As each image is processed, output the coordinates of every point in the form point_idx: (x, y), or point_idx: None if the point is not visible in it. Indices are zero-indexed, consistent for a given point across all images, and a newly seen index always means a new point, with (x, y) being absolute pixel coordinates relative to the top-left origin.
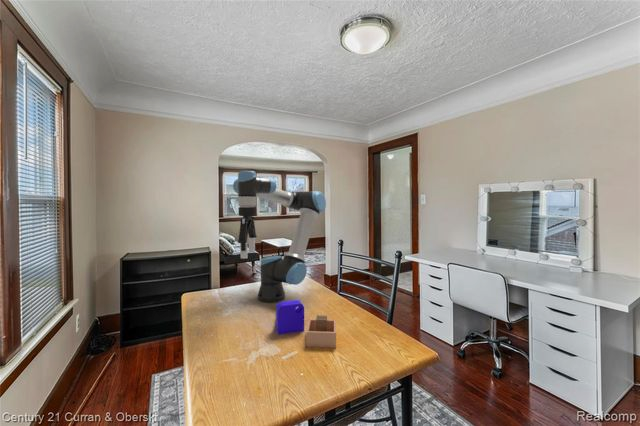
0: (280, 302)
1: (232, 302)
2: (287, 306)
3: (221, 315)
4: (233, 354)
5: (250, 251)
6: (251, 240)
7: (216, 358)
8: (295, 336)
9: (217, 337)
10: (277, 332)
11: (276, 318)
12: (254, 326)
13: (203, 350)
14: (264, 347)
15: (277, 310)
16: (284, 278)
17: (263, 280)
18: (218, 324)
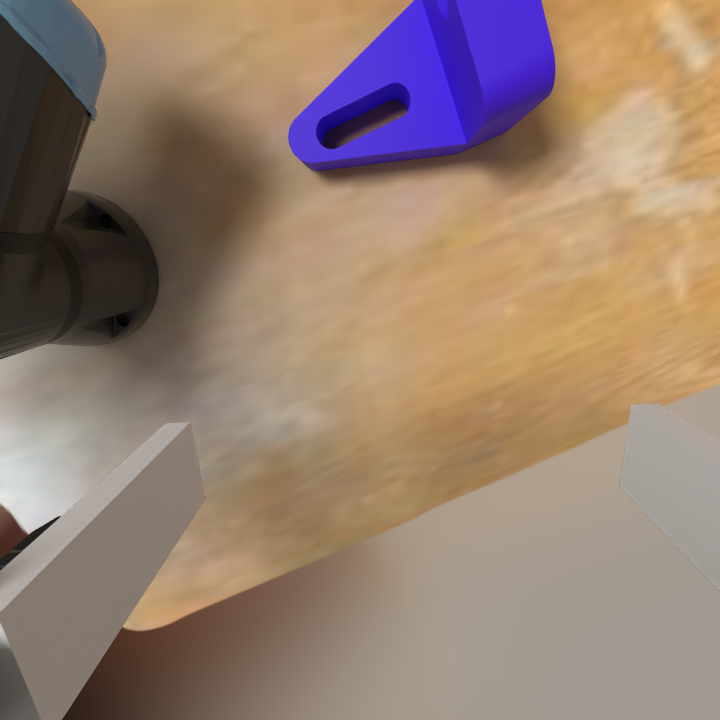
0: (489, 85)
1: None
2: (541, 21)
3: (327, 434)
4: (646, 278)
5: (197, 482)
6: (75, 619)
7: (664, 328)
8: None
9: (516, 380)
10: (488, 139)
11: (477, 137)
12: (425, 265)
13: (605, 391)
14: (610, 169)
15: (523, 107)
16: (82, 128)
17: (55, 322)
18: (409, 415)
